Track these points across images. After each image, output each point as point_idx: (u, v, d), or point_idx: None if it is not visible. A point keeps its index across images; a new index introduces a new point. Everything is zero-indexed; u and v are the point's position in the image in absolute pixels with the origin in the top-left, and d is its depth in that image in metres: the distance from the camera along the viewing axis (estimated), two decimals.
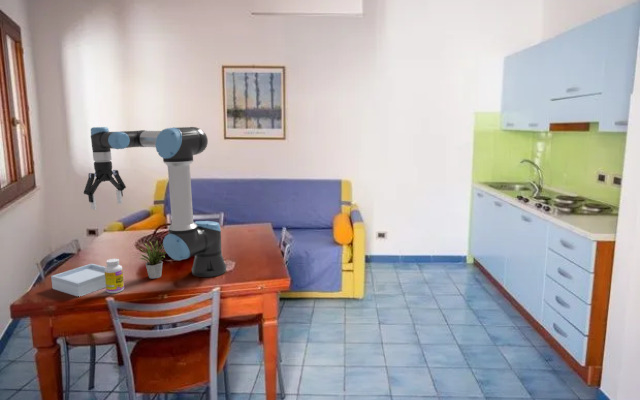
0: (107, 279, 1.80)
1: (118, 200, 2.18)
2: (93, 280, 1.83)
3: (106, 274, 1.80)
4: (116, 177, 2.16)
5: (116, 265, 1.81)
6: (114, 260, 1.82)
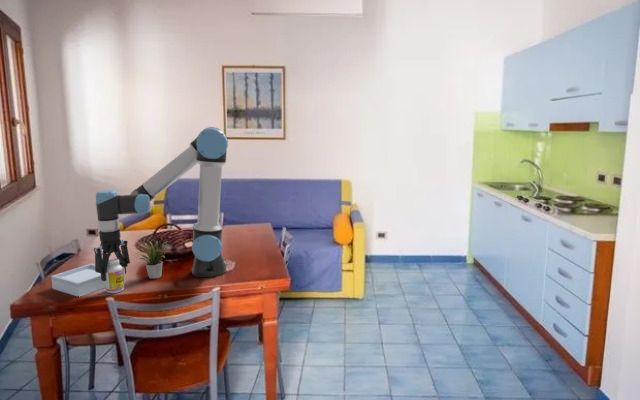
0: None
1: None
2: (93, 280, 1.83)
3: None
4: (123, 249, 1.86)
5: (116, 265, 1.81)
6: (114, 260, 1.82)
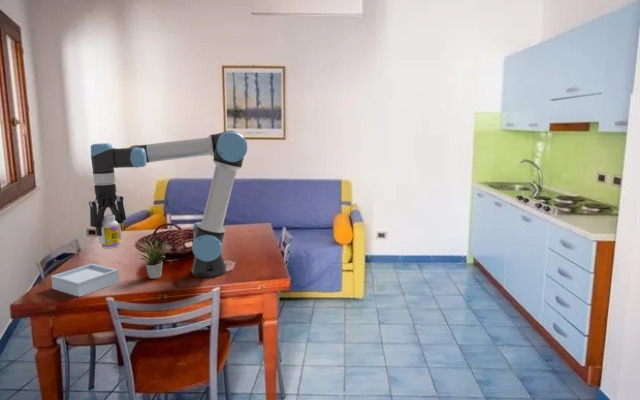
0: None
1: None
2: (93, 280, 1.83)
3: None
4: (118, 205, 1.82)
5: (112, 220, 1.78)
6: (110, 215, 1.78)
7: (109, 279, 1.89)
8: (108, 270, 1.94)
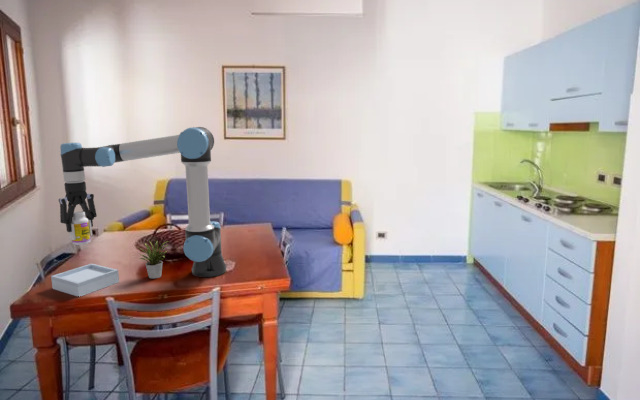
0: None
1: None
2: (93, 280, 1.83)
3: None
4: (89, 202, 1.88)
5: (82, 217, 1.84)
6: (80, 212, 1.84)
7: (109, 279, 1.89)
8: (108, 270, 1.94)
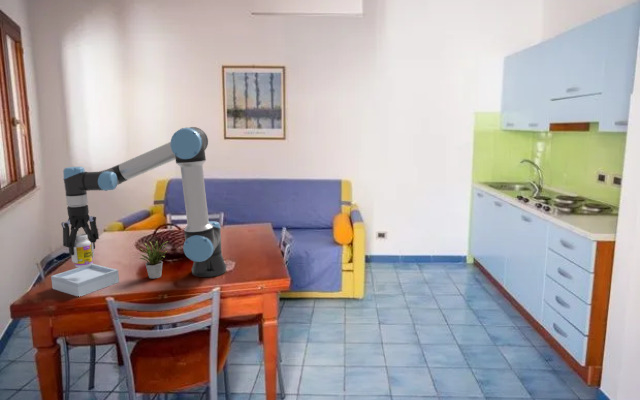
0: None
1: None
2: (93, 280, 1.83)
3: None
4: (91, 224, 1.90)
5: (84, 240, 1.86)
6: (82, 235, 1.86)
7: (109, 279, 1.89)
8: (108, 270, 1.94)
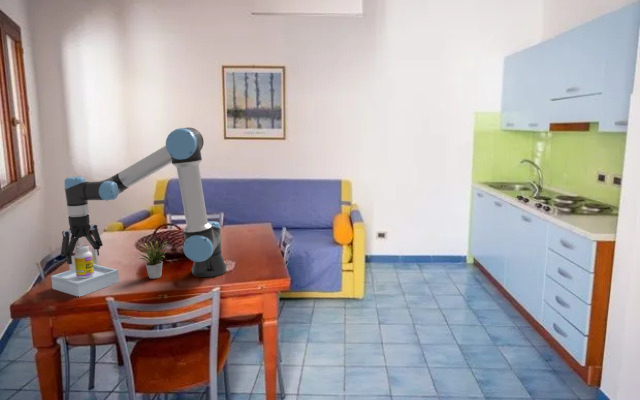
0: (77, 265, 1.85)
1: (94, 260, 1.93)
2: (93, 280, 1.83)
3: (76, 260, 1.85)
4: (93, 233, 1.91)
5: (86, 251, 1.86)
6: (84, 246, 1.87)
7: (109, 279, 1.89)
8: (108, 270, 1.94)
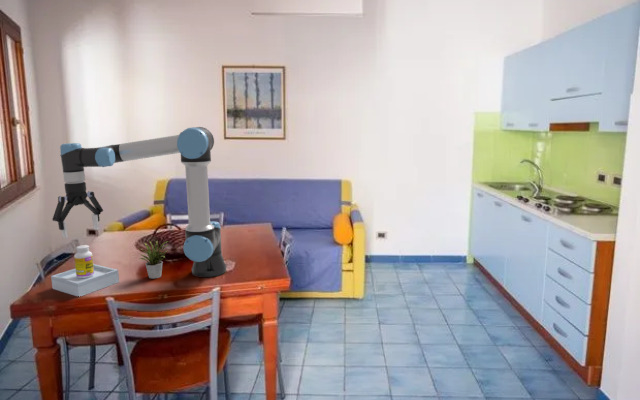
0: (77, 265, 1.85)
1: (94, 225, 1.91)
2: (93, 280, 1.83)
3: (76, 260, 1.85)
4: (91, 199, 1.89)
5: (86, 251, 1.86)
6: (84, 246, 1.87)
7: (109, 279, 1.89)
8: (108, 270, 1.94)
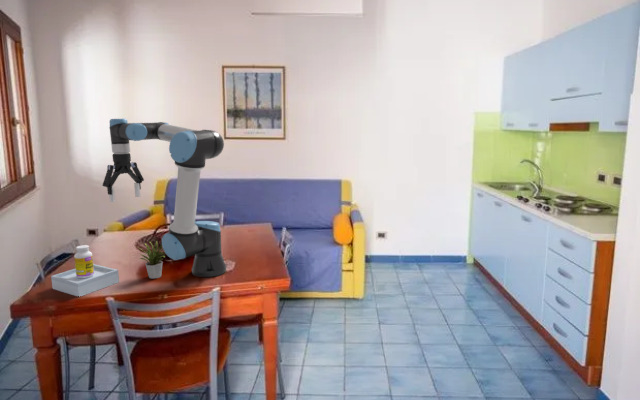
0: (77, 265, 1.85)
1: (136, 193, 2.16)
2: (93, 280, 1.83)
3: (76, 260, 1.85)
4: (134, 169, 2.13)
5: (86, 251, 1.86)
6: (84, 246, 1.87)
7: (109, 279, 1.89)
8: (108, 270, 1.94)
